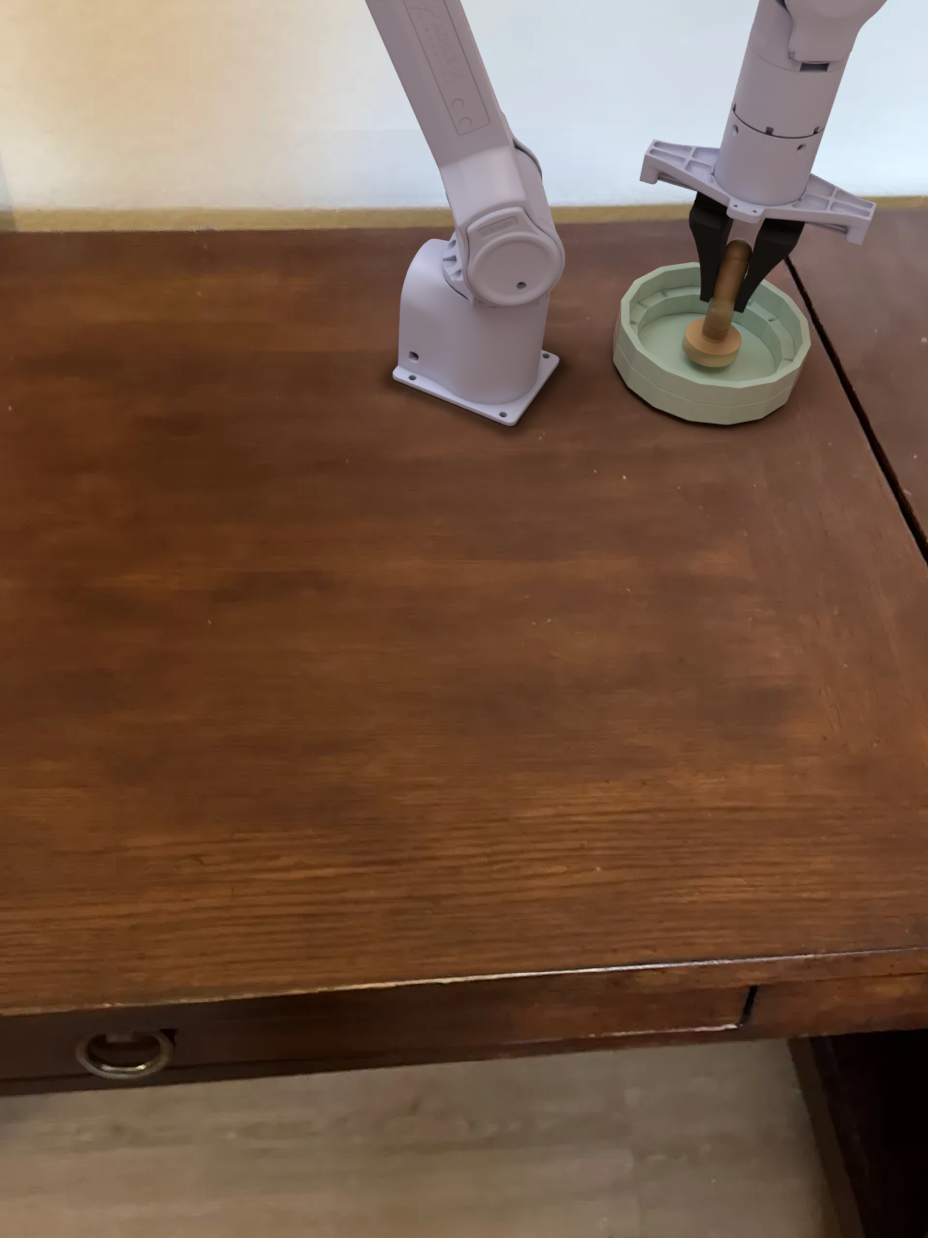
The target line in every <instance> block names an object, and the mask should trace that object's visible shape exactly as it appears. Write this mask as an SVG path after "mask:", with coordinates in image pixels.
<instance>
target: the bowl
mask: <svg viewBox="0 0 928 1238" xmlns="http://www.w3.org/2000/svg"><path fill="white" fill-rule="evenodd" d="M746 274H747V273H746ZM745 277H746V276H745ZM744 280H745V279H744ZM700 290H701V275H700V263H699V261H691V262H683V263H678V264H677V263H675V264H670V265H664V266H659V267H657V268H656V269H653V270H652V271H650V272H648V273H646V274H644V275H643V276H641V277H638V278H636V279H635V280H634V281H633V282H632V284H631V285H630V286H629V287H628V289H627V291H626V292H625V293H624V295H623V296H622V297H621V300H620V303H619V308H618V312H617V318H616V322H615V326H614V332H613V335H612V361H613V364H614V366H615V367H616V369H617V371H618V372H619V374H620V376H621V379H623V381H624V383H625V385H626V386H627V387H628V388H629V389H630V390H631V391H632V392H634V393H635V394H637V395H638V396H639V397H640V398H642V399H643V400H644V401H645V402H646V403H648V404H649V405H651V406H652V407H654V408H655V409H658V410H661V411H663V412H666V413H668V414H671V415H673V416H676V417H678V418H681V419H683V420H686V421H690V422H697V423H707V424H716V425H724V426H725V425H728V426H729V425H735V424H740V423H745V422H751V421H756V420H757V421H758V420H761V419H763V418H764V417H766V416H768V415H769V414H771V413H772V412H774V411H776V410H777V409H779V408H781V407H782V406H784V405H786V403H787V402H788V400H789V398H790V397H791V395H792V392H793V391H794V388H795V387H796V385H797V382H798V380H799V378H800V375H801V372H802V369H803V367H804V364H805V362H806V359H807V357H808V354H809V352H810V349H811V347H812V341H811V334H810V327H809V320H808V319H807V317H806V316H805V315H804V313H803V312H802V311H801V310H800V309H801V308H799V307H798V305H797V304H796V302H795V301H794V300H793V298H792V297H791V296H790V295H788V294H787V293H786V292H784V291H782V289H779V287H777V286H776V285H774V284H772V283H771V282H769V281H768V280H766V279H765V278H764V279H763V281H762V282H761V283H760V284H759V286H758V287H757V288H756V290H755V291H754V293H753V294H752V296H751V297H750V299H749V301H748V303H747V305H746V308H745V310H744V312H743V313H739V312H736V311H735V312H734V315H733V318H732V321H731V325H733V326H734V327H735V328H736V329H737V330H738V331H739V333H740V335H741V340H742V342H741V346H740V349H739V352H738V355H737V357H736V359H735V360H734V361H733V362H732V363H730V364H729V365H726V366H723V367H708V366H704V365H701V364H698V363H696V362H694V361H692V360H691V359H690V358H689V357H688V356H687V355H686V354H685V353H684V351H683V348H682V341H683V337H684V333H685V330H686V327H687V326H688V325H689V323H691V322H692V321H694V320H696V319H699V318H705V317H706V313H707V310H708V307H709V303H710V302H709V303H707V302H704V301H700ZM710 300H711V299H710Z"/></svg>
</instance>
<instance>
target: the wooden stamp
mask: <svg viewBox="0 0 928 1238" xmlns="http://www.w3.org/2000/svg"><path fill="white" fill-rule="evenodd" d="M752 252H753V247H752V245H751V243H750V242H749V241H747V240H746V239H745V238H739V237H738V238H734V239H732V240H730V241H729V242H727V246H726V248H725V251H724V254H723V258H722V261H721V265H720V268H719V272H718V275H717V279H716V283H715V287H714V290H713V294H712V297H711V300H710V303H709V307H708V310H707V313H706V317H705V318H699V319H696V320H694V321H692V322H691V323H689V325H688V326H687V327H686V330H685V333H684V337H683V341H682V348H683V351H684V353H685V354H686V355H687V356H688V357H689V358H690V359H691V360H692V361H694V362H696V363H698V364H701V365H704V366H708V367H723V366H726V365H729V364H730V363H732V362H733V361H734V360H735V359H736V357H737V355H738V352H739V349H740V346H741V342H742V340H741V335H740V333H739V331H738V330H737V329H736V328H735V327H734V326H733V325H731V321H732V318H733V315H734V312H735V311H733V308H734V305H735V301H736V299H737V296H738V294H739V292H740V289H741V287H742V284H743V282H744V279H745V276H746V273H747V271H748V267H749V263H750V260H751V256H752Z"/></svg>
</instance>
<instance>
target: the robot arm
mask: <svg viewBox="0 0 928 1238" xmlns="http://www.w3.org/2000/svg"><path fill="white" fill-rule="evenodd" d="M364 2H365V4H366V7H367V8H368V11H369V13H370V15H371V17H372V20H373V23H374V25H375V27H376V30H377V32H378V34H379V36H380V39H381V41H382V43H383V45H384V47H385V50H386V52H387V54H388V56H389V59H390V61H391V63H392V66H393V68H394V71H395V72H396V76H397V77H398V79H399V82H400V84H401V87H402V88H403V92H404V93H405V96H406V98H407V100H408V103H409V105H410V107H411V110H412V112H413V114H414V116H415V119H416V120H417V123H418V125H419V129H420V130H421V132H422V135H423V137H424V140H425V141H426V144H427V146H428V148H429V151H430V153H431V156H432V158H433V160H434V162H435V165H436V166H437V169H438V172H439V175H440V177H441V181H442V184H443V188H444V190H445V196H446V200H447V202H448V205H449V207H450V211H451V216H452V220H453V224H454V225H453V226H454V231H453V233H452V235H451V236H450V239H449V240H444V239H439V238H431V239H429V240H427V241H426V242H424V244H422V246H420V248H419V249H418V251H417V252H416V254H415V255H414V257H413V259H412V260H411V262H410V265H409V267H408V269H407V272H406V274H405V278H404V281H403V285H402V289H401V294H400V302H399V324H398V325H399V327H398V350H397V351H398V353H397V366H396V367H394V370H393V371H392V378H393V380H395V381H396V382H399V383H401V384H403V385H406V386H408V387H411V388H414V389H416V390H418V391H421V392H423V393H426V394H428V395H431V396H433V397H435V398H438V399H441V400H442V401H445V402H447V403H450V404H452V405H455V406H458V407H460V408H463V409H465V410H467V411H470V412H472V413H474V414H477V415H479V416H482V417H485V418H487V419H488V420H492V421H494V422H496V423H499V424H501V425H504V426H507V427H513V426H515V425H516V424H517V423H518V422H519V420H520V419H521V417H522V416H523V414H525V412H526V410H527V409H528V407H529V406H530V405H531V404H532V402H533V400H534V399H535V398H536V397H537V395H538V394H539V392H540V391H541V390H542V388H543V387H544V385H545V384H546V382H547V381H548V380H549V379H550V377H551V375H552V374H553V373H554V372H555V370H556V369H557V367H558V366H559V363H560V357H559V356H558V355H556V354H554V353H551V352H549V351H546V350H543V344H544V337H545V331H546V325H547V317H548V310H549V306H550V299H551V292H552V290H553V289H554V288H555V287H556V285H557V284H558V283H559V281H560V279H561V278H562V275H563V273H564V271H565V266H566V251H565V247H564V245H563V242H562V240H561V238H560V236H559V234H558V232H557V229H556V226H555V223H554V219H553V215H552V212H551V211H552V210H551V209H550V205H549V200H548V198H547V194H546V190H545V188H544V184H543V170H542V168H541V165H540V161H539V160H538V158H537V156H536V154H535V153H534V152H532V149H530V148H528V147H527V145H525V144H524V143H523V142H521V141H520V140H519V139H518V138H517V137H516V136H515V134H514V133H513V131H512V129H511V127H510V125H509V122H508V119H507V117H506V114H505V113H504V112H503V110H502V108H501V106H500V104H499V101H498V99H497V96H496V93H495V89H494V88H493V84H492V82H491V79H490V77H489V73H488V71H487V69H486V66H485V62H484V60H483V57H482V55H481V52H480V49H479V47H478V45H477V41H476V39H475V36H474V34H473V30H472V28H471V25H470V23H469V20H468V17H467V15H466V12H465V9H464V7H463V3H462V1H461V0H364ZM887 2H888V0H758V3H757V7H756V11H755V15H754V18H753V22H752V24H751V28H750V32H749V36H748V40H747V44H746V48H745V51H744V55H743V59H742V63H741V66H740V70H739V75H738V78H737V81H736V82H737V83H736V86H735V90H734V93H733V98H732V101H731V105H730V108H729V113H728V116H727V119H726V123H725V128H724V131H723V136H722V140H721V143H720V147H714V146H713V147H712V146H701V145H691V144H690V145H689V144H679V143H672V142H667V141H663V140H659V139H656V138H654V139H652V141H651V143H650V144H649V146H648V147H647V149H646V151H645V153H644V154H643V159H642V160H643V161H642V166H641V169H640V175H639V180H638V181H640V182H642V183H646V184H649V185H656V184H657V183H658V181H659V182H663V183H666V184H669V185H673V186H676V187H680V188H683V189H686V190H689V191H694V192H696V194H695V198H694V201H693V204H692V206H691V209H690V210H689V213H688V224H689V225H688V227H689V229H690V231H691V234H692V237H693V239H694V243H695V245H696V246H695V247H696V251H697V255H698V263H700V275H701V290H700V301H704V302H707V303H709V302H710V299H711V297H712V294H713V290H714V287H715V283H716V279H717V275H718V272H719V268H720V265H721V261H722V258H723V254H724V251H725V248H726V246H727V244H728V241H729V237H730V234H731V230H732V228H733V225H734V221H735V220H736V221H740V222H743V223H747V224H750V225H756V224H759V223H760V222H761V221H762V219H763V221H762V224H761V226H760V227H759V230H758V232H757V235H756V237H755V241H754V244H753V247H752V256H751V260H750V263H749V266H748V270H747V274H746V277H745V280H744V282H743V284H742V287H741V289H740V292H739V294H738V296H737V299H736V301H735V305H734V308H733V311H736V312H739V313H743V312H744V310H745V308H746V305H747V303H748V301H749V299H750V297H751V296H752V294H753V293H754V291H755V290H756V288H757V287H758V286H759V284H760V283H761V282H762V281H763V279H765V278H766V277H767V276H768V275H769V274H770V273H771V272H772V271H773V270H774V269H775V268H776V267H777V266H778V265H779V264H780V263H781V262H782V261H784V260H785V259H786V258H787V257H788V256H790V254H791V253H792V252H793V250H794V249H795V248H796V247H797V245H798V243H799V240H800V238H801V235H802V233H803V230H804V228H805V226H806V225H809V226H812V227H815V228H819V229H823V230H826V231H830V232H832V233H837V234H839V235H843V236H844V240H845V242H846V243H849V244H852V245H855V246H859V247H860V246H863V242H864V240H865V238H866V235H867V232H868V230H869V227H870V225H871V222H872V219H873V217H874V214H875V211H876V209H877V205H878V204H877V202H874V201H872V200H869V199H865V198H862V197H860V196H858V195H855V194H853V193H851V192H848V191H847V190H845V189H843V188H841V187H839V186H837V185H835V184H833V183H831V182H829V181H828V180H825V179H823V178H822V177H820V176H818V175H816V174H814V173H812V171H813V167H814V163H815V160H816V157H817V155H818V151H819V149H820V145H821V142H822V140H823V137H824V133H825V130H826V127H827V125H828V122H829V118H830V115H831V112H832V109H833V107H834V103H835V101H836V98H837V94H838V91H839V88H840V85H841V82H842V79H843V76H844V73H845V70H846V67H847V63H848V61H849V58H850V56H851V53H852V51H853V49H854V47H855V43H856V40H857V37H858V34H859V32H860V31H861V29H862V28H863V26H864V25H865V24H866V23H867V22H868V21H869V20H870V19H871V18H873V17H874V16H875V15H876V14H877V13H878V12H879V11H880V10H881V9H882V8H883V6H885V4H886V3H887Z"/></svg>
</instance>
